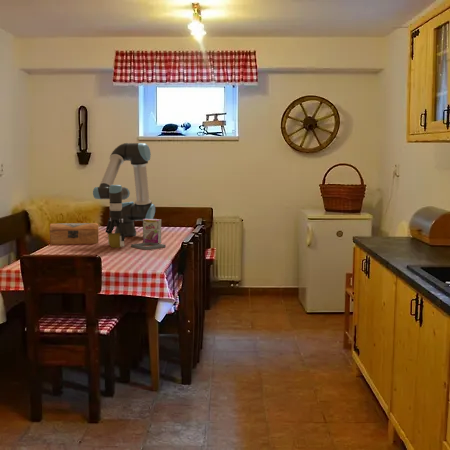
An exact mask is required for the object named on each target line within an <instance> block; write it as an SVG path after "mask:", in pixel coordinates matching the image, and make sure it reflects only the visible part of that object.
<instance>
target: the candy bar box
mask: <svg viewBox="0 0 450 450" xmlns="http://www.w3.org/2000/svg"><path fill="white" fill-rule="evenodd" d="M149 242H152V243H159V244H162V219H157V218H153V219H143V221H142V243H149Z"/></svg>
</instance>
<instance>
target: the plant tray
mask: <svg viewBox="0 0 450 450" xmlns="http://www.w3.org/2000/svg"><path fill="white" fill-rule="evenodd" d="M166 245H167V244H165V243H164V244H163V243H159V244H158V243H152V242H149V243H143V242H142V243H141V242H140V243H139V242H138V243H134V244H133V243H131V244H130V247H131V248H135V249H139V250H144V251H148V250H156V249H163V248H166V247H167V246H166Z"/></svg>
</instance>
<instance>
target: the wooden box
mask: <svg viewBox="0 0 450 450" xmlns="http://www.w3.org/2000/svg"><path fill="white" fill-rule="evenodd" d="M99 231H100V230H99V223H97V222H95V223H93V222H92V223H91V222H90V223H89V222H87V223H84V222H83V223H81V222H77V223H75V222H74V223H73V222H71V223H69V222H68V223H67V222H65V223H62V222H61V223H50V224H49V244H50V245H83V244H85V245H87V244H88V245H89V244H91V245H93V244H99V241H100V240H99V239H100V238H99V235H100V234H99Z"/></svg>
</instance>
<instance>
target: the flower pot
mask: <svg viewBox="0 0 450 450" xmlns="http://www.w3.org/2000/svg"><path fill="white" fill-rule="evenodd" d="M108 237H109V244H108V245H109V246H110V248H113V249H115V248H118V249H119V248H121V247H120V233H115V232H112V233H109V234H107V238H108Z"/></svg>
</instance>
